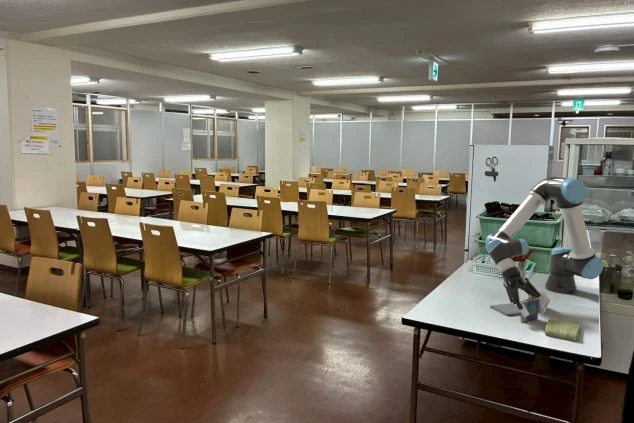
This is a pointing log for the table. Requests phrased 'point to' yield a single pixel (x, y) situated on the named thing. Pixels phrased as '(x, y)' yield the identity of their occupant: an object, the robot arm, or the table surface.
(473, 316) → the table surface
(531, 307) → the flask
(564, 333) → the washcloth
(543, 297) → the die
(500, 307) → the mat
